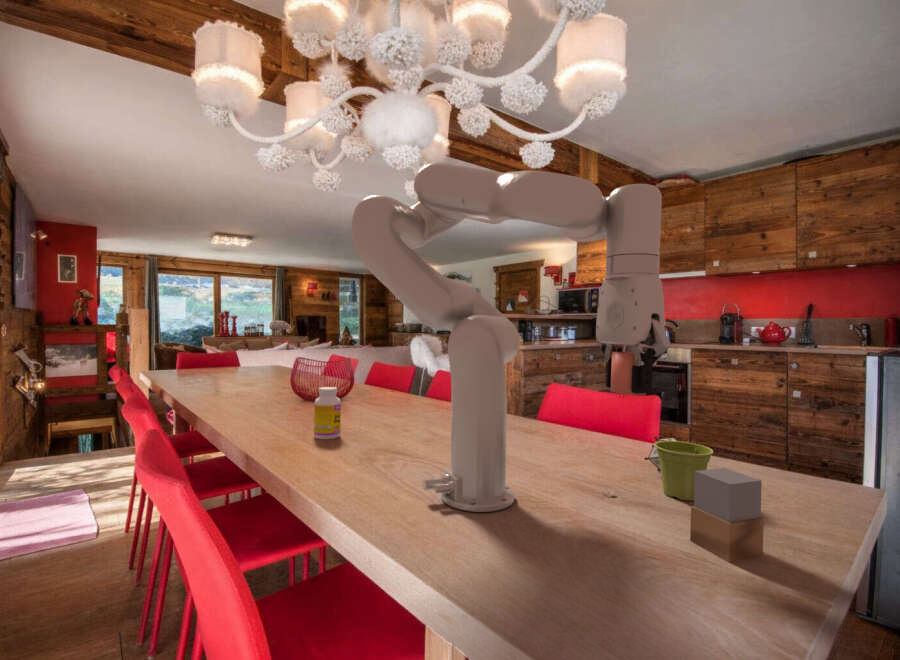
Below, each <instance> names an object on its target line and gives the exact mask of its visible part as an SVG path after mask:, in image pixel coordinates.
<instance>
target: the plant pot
mask: <svg viewBox="0 0 900 660" xmlns="http://www.w3.org/2000/svg"><path fill="white" fill-rule="evenodd" d="M680 441H681V440H677V441H660V442H656V443H655V442H654V443H655V444H653V445H654V446H655V448H657V454H658V456H659V460H660V467H661V471H660V473H661V481H662V482H661V483H662V489H663V493H664V494H665V495H667V496H668V497H671V498H672V497H675V498H677V499H679V501H680V500H681V501H691V502H694V488H695V471H699V470H708V464H709V463H710V459H711V457H712V455H713V454H714V450H713V449H712V448H710V447H708V446H705V445H702V444H698V443H694V442H689V441H688V442H686V441H682V442H680Z"/></svg>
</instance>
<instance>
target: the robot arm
mask: <svg viewBox="0 0 900 660" xmlns="http://www.w3.org/2000/svg"><path fill="white" fill-rule="evenodd" d="M413 191H414V194H415V197H416V199H417V201H418V202H417V203H415V204H414V205H412V206H409V205H407V204H406V203H403V202H402V201H399V200H398V199H396V198H393V197H392V196H391V197H390V196H385V195H381V194H378V195H377V194H374V195H369V196H366V197H365V198H363V199H362V200H360V201H359V202H358V204H357V205H356V206H355V208H354V210H353V214H352V217H351V230H350V231H351V239H352V243H353V246H354V249H355V252H356V254H357V256H358V257H359V259H360V260H361V262H362V264H363V265H364V266H365V267H366V269H367V270H368V271H369V272H370V273H371V274H372V275H373V276H374V277H375V278H376V279H377V280H378V281H379V282H380V283H381V284H382V285H383V286H384V287H386V288H387V289H388V290H389V292H390V293H392V295H394V297H395V298H397V300H399V302H401V303H402V304H403V305H404V306H405V307H406V308H407V309H408V311H410V312H411V313H412V314H413V315H414V316H415V317H416V318H417V319H418V320H419V321H420V323H422V324H423V325H425V326H426V327H428V328H431V329H434V330H448V331H450V335H449V337H448V341H447V342H448V343H447V354H448V355H447V356H448V363H449V370H450V371H449V372H450V382H451V383H450V385H451V386H450V388H451V391H450V392H451V395H450V397H451V401H450V403H451V404H450V405H451V406H450V407H451V425H450V426H451V427H450V429H451V431H450V468H446V469H445V471H444V473H445V474H441V475H440V477H424V478H423V479H422V487H423V490H424V491H428V490H429V491H430V490H434V493H435V494H440V497H441V500H442V501H443V502H444V503H445V504H446V505H447V506H450V507H451V508H454V509H457V510H461V511H464V512H465V511H466V512H475V513H490V512H497V511H500V510H501V511H502V510H504V509H506V508H509V507H510V506H512V505H513V504H514V501H515V492H514V490H513V489H512V488H511V487H509V486H508V485H506V475H507V474H506V473H507V471H506V470H507V469H506V468H507V423H508V422H507V419H508V417H507V416H508V415H507V414H508V411H507V410H508V407H507V403H508V401H507V399H508V396H507V395H508V394H507V393H508V392H507V379H506V378H507V377H506V369H505V365H506V364H508V363H510V362H511V361H513V359H514V358H515V357H516V356H517V354H518V351H519V349H520V344H521V343H520V342H521V339H520V334H519V331H518V330H517V327H516V326H515V324H514V323H512V321H510V319H508V318H507V317H506V316H505V315H504V314H503V313H502V312H501V311H500V310H499V309H497V308H496V307H495V306H494V305H493V304H491V303H490V302H489V301H488V300H487V299H486V298H485V297H484V296H483V295H481V294H480V293H479V292H478V291H477V290H475V289H474V288H473V287H472V286H471V285H468V284H467V283H465V282H462V281H460V280H456V279H453V278H450V277H447V276H444V275H443V274H441V272H439V271H437V270H436V269H435V268H434V267H432V266H431V265H430V264H429V263H428V262H427V261H426V260H425V259H424V258H423V257H422V256H421V255H419V253H417V252H416V251H415V250H416V249H420V248H422V247H423V246H425V245H426V244H429V243H430V242H431V241H433V240H434V239H436V238H438V237H439V236H441V235H443V234H445V233H446V232H448V231H450V230H451V229H452V228H454V227H455V226H457V225H458V224H460V223H461V222H462V221H464V220H465V219H467V220H473V221H477V222H481V223H485V224H490V225H499V224H501V223H502V222H505V221H507V220H519V221H521V220H522V221H526V222H527V221H528V222H532V223H537V224H542V225H547V226H552V227H555V228H559V229H560V230H561V231H562V233H563V234H564V235H565V236H566V237H567V238H568V239H570V240H572V241H574V242H576V243H577V242H578V243H587V242H596V241H599V240H606V248H605V249H606V251H605V253H606V254H605V256H606V257H605V280H603V281H602V284H601V288H600V291H599V297H598V304H597V305H598V306H597V313H596V325H595V337H596V338H595V342H596V343H597V345H598V346H599V347H600V349H601V352H602V354H603V360H604V362H606V365H605V366H606V367H605V368H606V369H605V370H606V371H605V387H606V388H608V389H611V365H612V352H626V347H627V346H632V350H633V351H632V352H634V357H635V363H636V365H637V366H632V384H631V391H632V393H635V394H641V393H646V394H651V393H652V392H653V390H652V389H653V368H654V367H655V366H657V361H658V360H659V359H660V358H661V356H662V354H664V352H666V351H667V350H668V349H669V348H670V347H671V345H672V344H671V342H670V339H669V338H668V335H667V334H666V333H665V318H666V317H665V316H666V315H665V299H664V298H665V297H664V289H663V283H662V278H661V277H660V263H661V262H660V260H661V259H660V258H661V257H660V256H661V229H662V228H661V226H662V208H663V207H662V206H663V205H662V202H663V201H662V199H663V198H662V192H661V190H660V189H659V187H657V186H656V185H653V184H648V183H633V184H626V185H623V186H619V187H617V188H615V189H614V190H613V191H611V192H610V194H609V196H604V195H603V193H602V191H601V189H600V188H599V187H598V186H597V185H596V184H595V183H594V182H592V181H590V180H588V179H586V178H584V177H583V178H582V177H579V176H575V175H569V174H565V173H557V172H551V171H543V170H519V171H518V170H516V171H507V172H502V171H501V172H500V171H495V170H494V171H493V170H488V169H487V170H486V169H481V168H475V167H469V166H464V165H458V164H452V163H446V162H445V163H444V162H431V163H427V164H426V165H424V166H422V167H421V168H420V169H419V170H418V172H417V173H416V175H415V177H414V181H413ZM643 350H645V352H643ZM643 353H644V354H643Z"/></svg>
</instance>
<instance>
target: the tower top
mask: <svg viewBox="0 0 900 660" xmlns="http://www.w3.org/2000/svg"><path fill="white" fill-rule="evenodd" d="M693 503H694V504H693V506H694V507H697V508H699V509H701V510H703V511H705V512H707V513H709V514H711V515H714V516H716V517H718V518H720V519H722V520H724V521H726V522H728V523H732V522H738V521H744V520H751V519H757V518H762V517H761V516H762V513H761V512H762V479H759V478H756V477H753V476H750V475H746V474H744V473H741V472H739V471H736V470H732V469H729V468H727V467H721V468H719V467H718V468H711V469H710V468H709V469H708V468H707V470H699V471H695V488H694V501H693Z"/></svg>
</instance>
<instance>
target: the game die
mask: <svg viewBox="0 0 900 660" xmlns="http://www.w3.org/2000/svg"><path fill="white" fill-rule="evenodd" d="M653 439H654V440H655V442H654V444H655V443H656V442H660V441H678V440H677V439H676V435H675V434H672V437H668V438H665V437H664V438H658V437H657V436H656V435H653ZM679 441H680V442H683V440H679ZM654 444H651V447H652V449H650V450H651V451H650V452H649V455H648V457H644V458H643V460H645V461H648V460H649V461H650V463H652V464H653V466H655V467H656V468H657V471H658V472H661V467H660V460H659V456H658V454H657V448H655V446H654Z"/></svg>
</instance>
